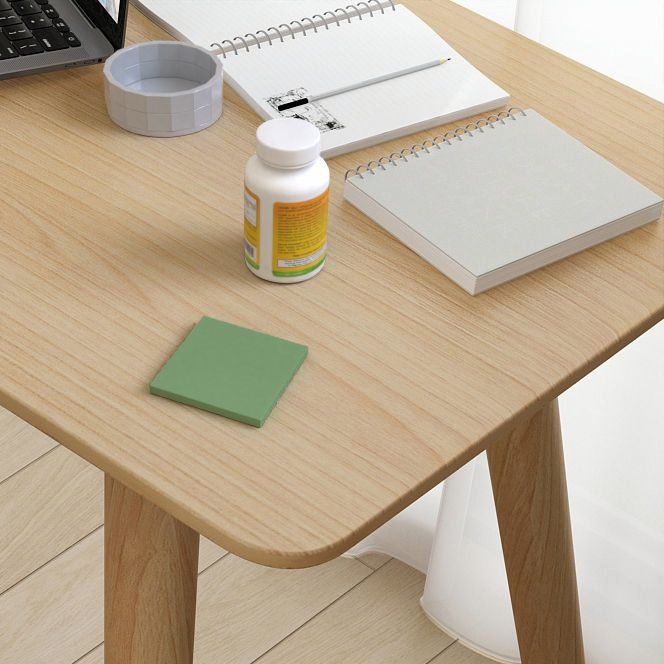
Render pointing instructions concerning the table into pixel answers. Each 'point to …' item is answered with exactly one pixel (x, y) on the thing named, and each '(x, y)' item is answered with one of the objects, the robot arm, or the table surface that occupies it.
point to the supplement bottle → (286, 202)
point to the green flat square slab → (230, 371)
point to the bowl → (163, 88)
